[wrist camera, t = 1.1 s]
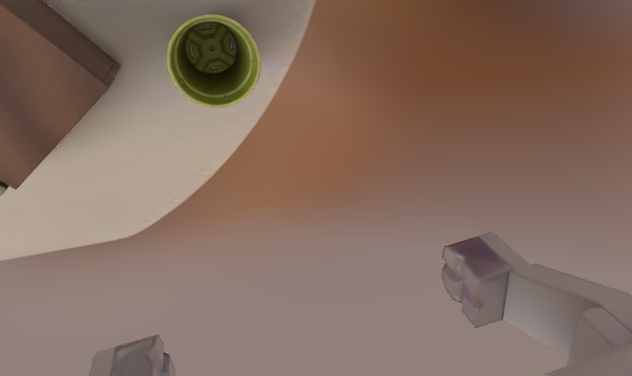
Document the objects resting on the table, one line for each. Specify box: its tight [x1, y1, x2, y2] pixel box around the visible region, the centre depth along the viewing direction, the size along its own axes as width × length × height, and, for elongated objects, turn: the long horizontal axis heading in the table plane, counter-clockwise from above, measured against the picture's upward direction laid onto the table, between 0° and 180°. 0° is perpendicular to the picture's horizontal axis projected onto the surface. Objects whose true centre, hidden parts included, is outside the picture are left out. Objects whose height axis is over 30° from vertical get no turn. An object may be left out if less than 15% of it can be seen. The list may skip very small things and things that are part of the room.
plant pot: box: [167, 14, 261, 108], centre depth 46 cm, size 9×9×9 cm
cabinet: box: [0, 0, 121, 189], centre depth 42 cm, size 15×13×10 cm
